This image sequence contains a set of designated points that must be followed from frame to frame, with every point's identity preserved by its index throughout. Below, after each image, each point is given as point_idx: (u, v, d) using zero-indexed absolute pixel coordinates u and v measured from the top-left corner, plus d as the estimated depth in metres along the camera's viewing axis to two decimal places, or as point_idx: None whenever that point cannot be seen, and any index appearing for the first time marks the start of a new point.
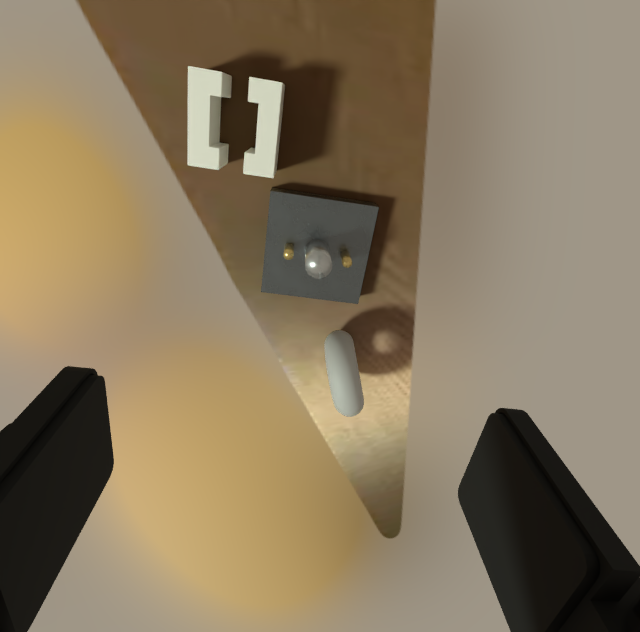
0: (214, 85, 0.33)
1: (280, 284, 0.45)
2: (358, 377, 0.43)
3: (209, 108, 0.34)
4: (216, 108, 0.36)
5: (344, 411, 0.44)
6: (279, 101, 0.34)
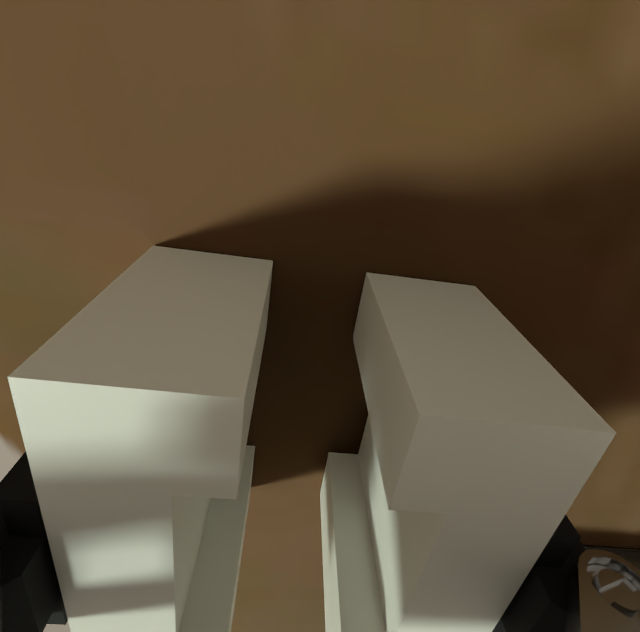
0: (196, 458, 0.05)
1: None
2: None
3: None
4: None
5: None
6: (565, 503, 0.06)
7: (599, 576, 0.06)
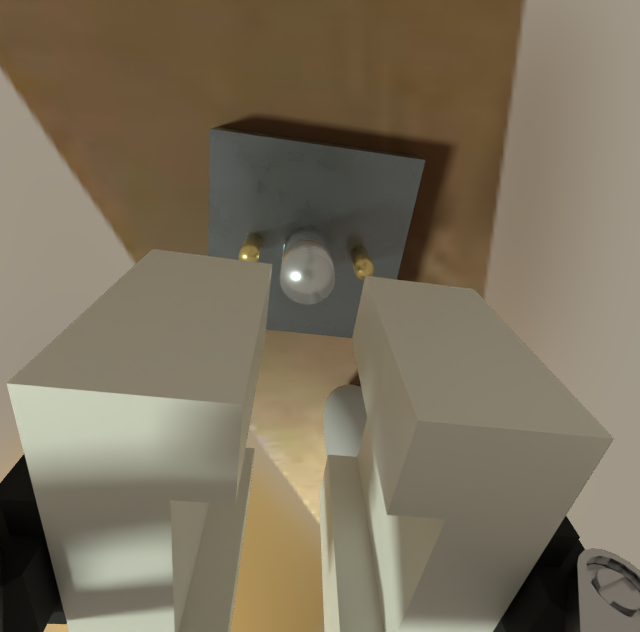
0: (194, 464, 0.05)
1: None
2: None
3: None
4: None
5: None
6: (563, 508, 0.06)
7: (598, 576, 0.06)
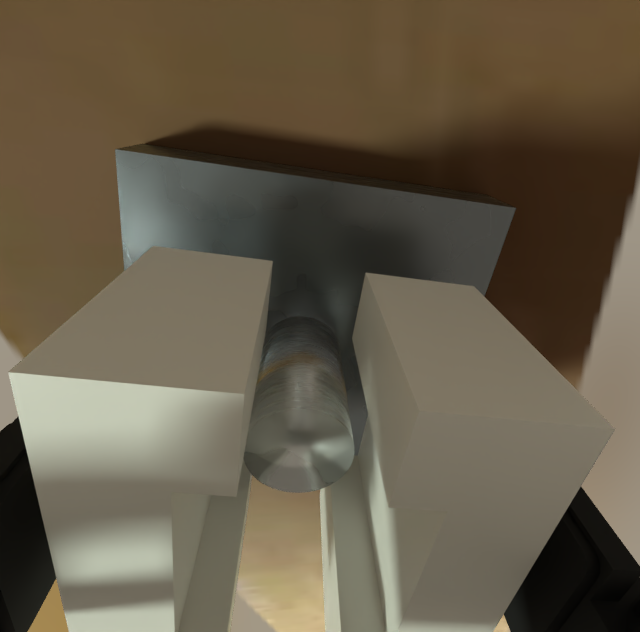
0: (195, 454, 0.05)
1: None
2: None
3: (171, 532, 0.06)
4: None
5: None
6: (565, 500, 0.06)
7: None
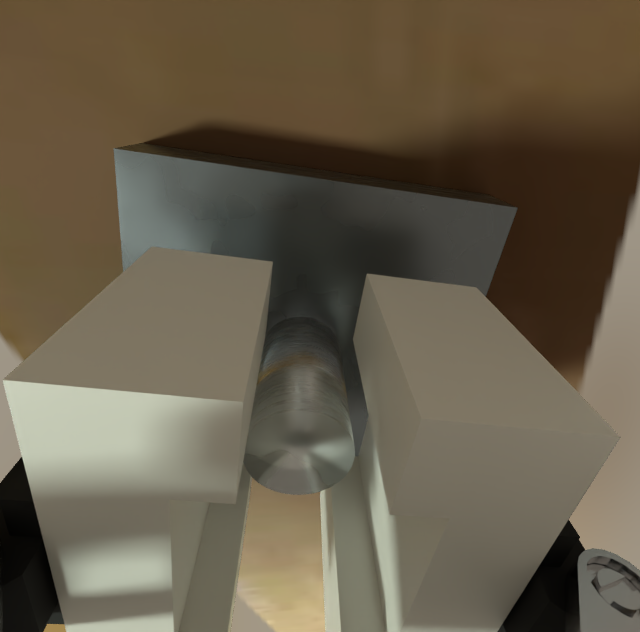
0: (194, 462, 0.05)
1: None
2: None
3: None
4: None
5: None
6: (568, 507, 0.06)
7: (598, 576, 0.06)
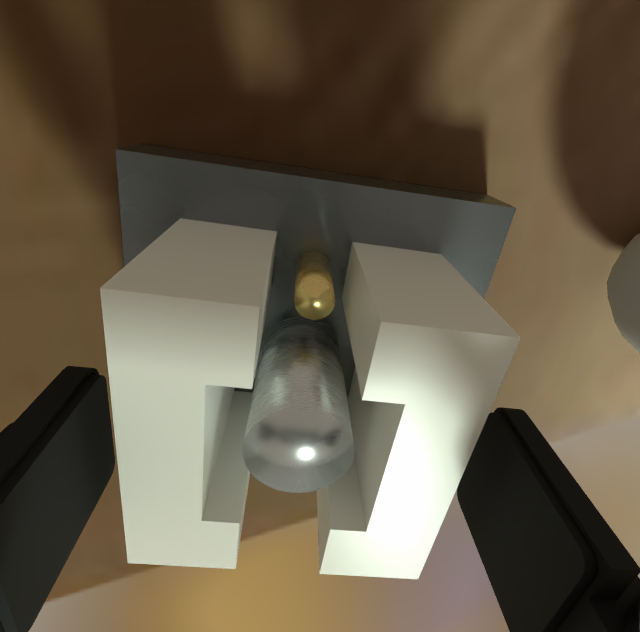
0: (224, 354, 0.08)
1: None
2: None
3: None
4: None
5: None
6: (491, 396, 0.08)
7: None
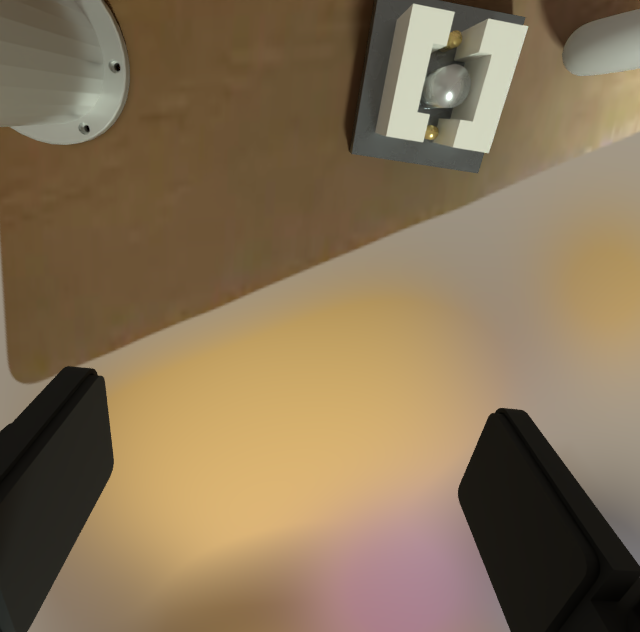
0: (441, 30, 0.26)
1: None
2: None
3: (427, 61, 0.27)
4: None
5: None
6: (518, 52, 0.26)
7: None
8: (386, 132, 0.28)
